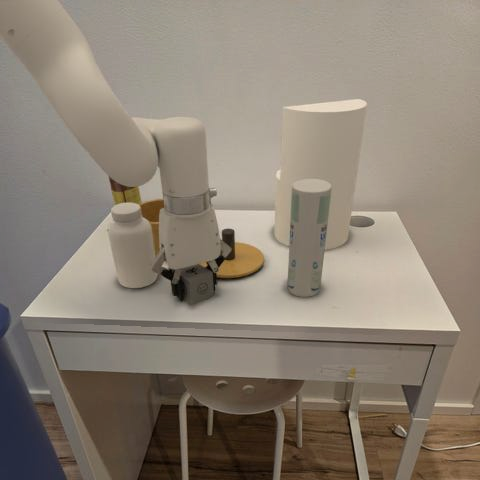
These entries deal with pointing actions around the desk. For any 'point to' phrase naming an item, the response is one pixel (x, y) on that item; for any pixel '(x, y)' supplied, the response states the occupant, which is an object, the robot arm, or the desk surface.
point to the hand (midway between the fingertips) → (195, 292)
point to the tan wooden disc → (238, 258)
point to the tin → (153, 218)
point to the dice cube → (196, 283)
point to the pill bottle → (132, 246)
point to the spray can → (307, 235)
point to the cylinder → (320, 161)
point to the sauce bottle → (124, 193)
